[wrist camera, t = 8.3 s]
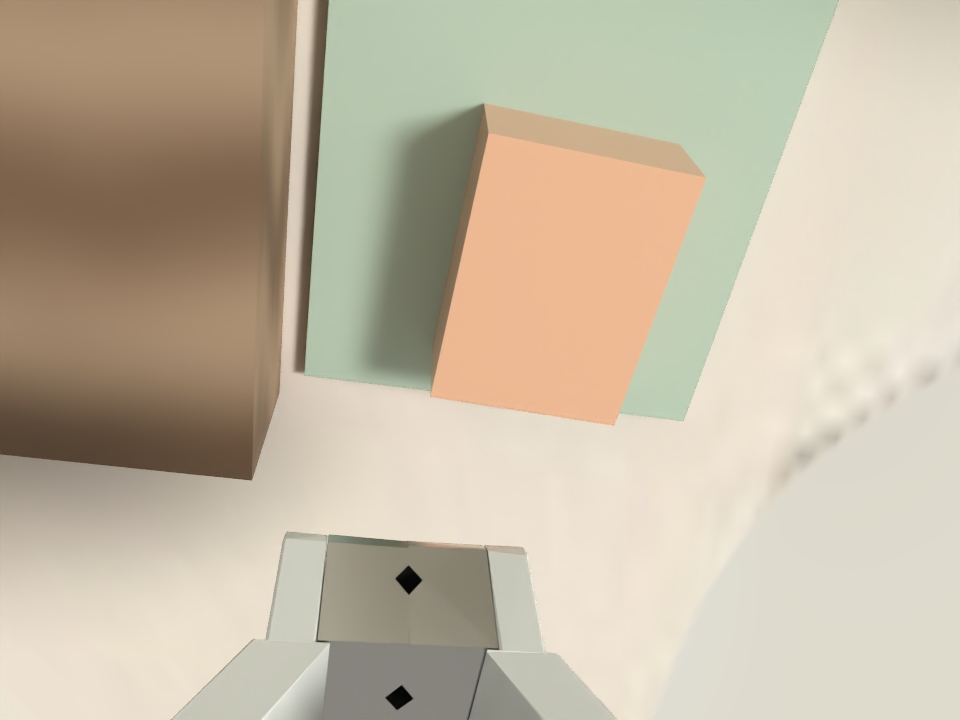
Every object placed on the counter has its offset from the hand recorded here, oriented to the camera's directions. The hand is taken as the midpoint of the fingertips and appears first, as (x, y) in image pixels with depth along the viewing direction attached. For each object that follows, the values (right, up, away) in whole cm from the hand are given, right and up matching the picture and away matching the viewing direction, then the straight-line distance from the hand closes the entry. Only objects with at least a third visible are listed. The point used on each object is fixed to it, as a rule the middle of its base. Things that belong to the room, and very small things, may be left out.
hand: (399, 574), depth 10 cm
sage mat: (+3, +8, +11) cm, 13 cm away
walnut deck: (-8, +8, +10) cm, 15 cm away
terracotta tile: (+3, +4, +9) cm, 11 cm away
